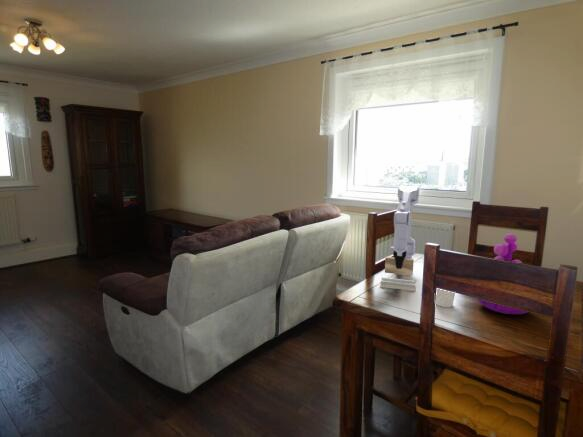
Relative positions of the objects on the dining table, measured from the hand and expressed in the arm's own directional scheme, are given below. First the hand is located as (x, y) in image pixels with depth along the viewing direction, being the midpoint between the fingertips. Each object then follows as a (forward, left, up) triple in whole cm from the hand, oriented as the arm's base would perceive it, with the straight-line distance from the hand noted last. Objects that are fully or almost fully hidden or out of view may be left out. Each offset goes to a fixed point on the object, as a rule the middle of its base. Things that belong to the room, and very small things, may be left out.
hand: (399, 267), depth 153 cm
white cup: (+14, +18, -9) cm, 25 cm away
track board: (0, 0, -9) cm, 9 cm away
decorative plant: (+12, +39, -9) cm, 42 cm away
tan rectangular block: (0, 0, -3) cm, 3 cm away
